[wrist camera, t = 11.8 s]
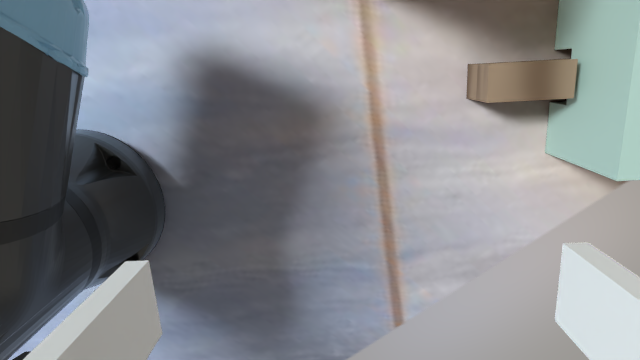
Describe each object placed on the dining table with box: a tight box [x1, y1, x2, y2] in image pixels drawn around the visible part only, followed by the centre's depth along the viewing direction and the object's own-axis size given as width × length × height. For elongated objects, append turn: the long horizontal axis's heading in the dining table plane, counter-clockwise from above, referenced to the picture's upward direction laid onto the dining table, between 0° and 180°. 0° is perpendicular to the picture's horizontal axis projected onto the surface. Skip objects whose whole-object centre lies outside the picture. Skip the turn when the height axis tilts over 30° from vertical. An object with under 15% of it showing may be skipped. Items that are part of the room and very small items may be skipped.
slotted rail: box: [467, 59, 578, 103], centre depth 34 cm, size 18×3×5 cm, turn 93°
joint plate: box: [545, 0, 640, 181], centre depth 32 cm, size 14×3×10 cm, turn 3°
